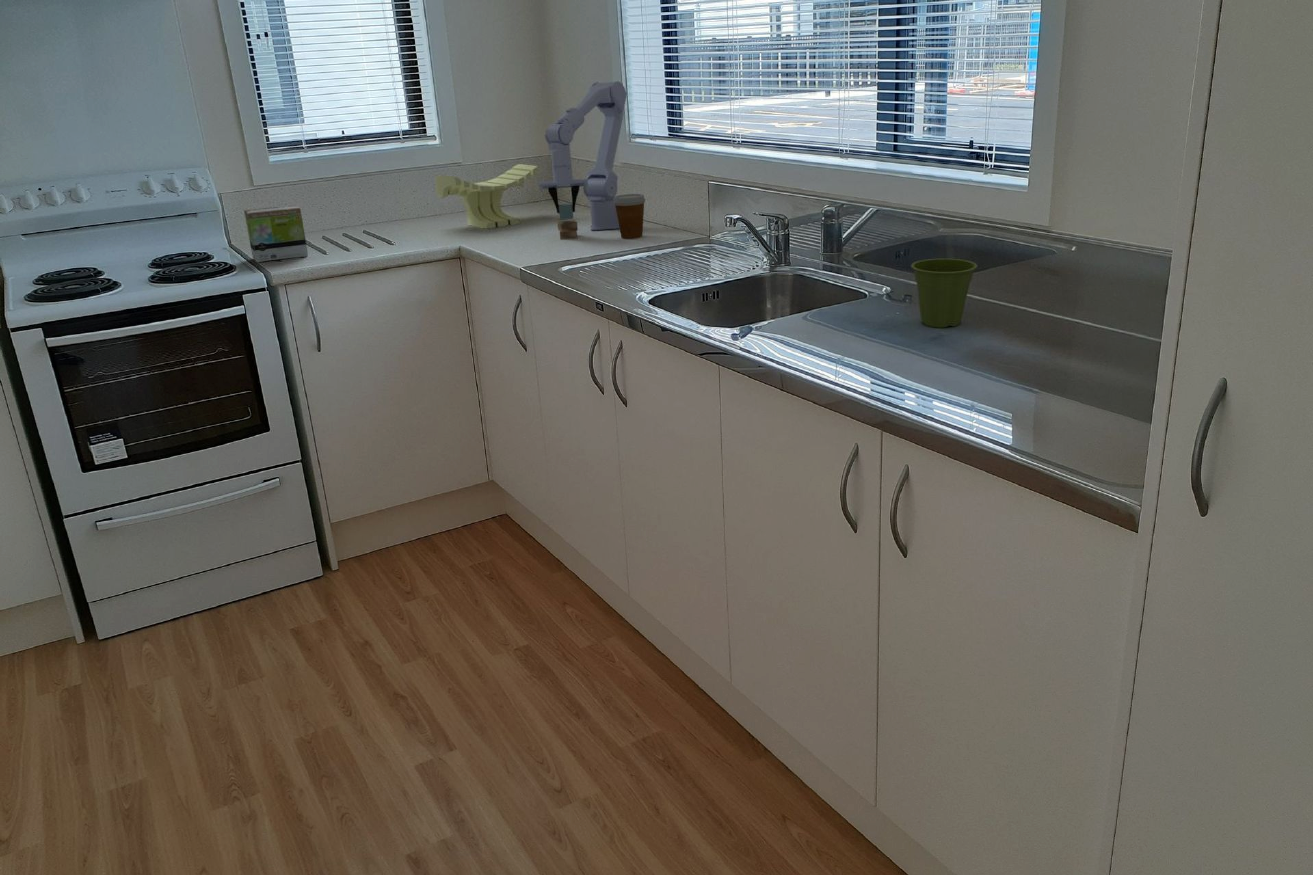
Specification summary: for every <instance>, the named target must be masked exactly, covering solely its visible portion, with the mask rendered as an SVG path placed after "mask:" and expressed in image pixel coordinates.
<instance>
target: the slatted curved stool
mask: <svg viewBox="0 0 1313 875" xmlns="http://www.w3.org/2000/svg"><path fill="white" fill-rule="evenodd" d="M538 169H539V166H537V165H532V164H531V165H530V164H522V163H519V164H516V165H514V166H512V168H510V169H508V170H506V171H505V172H504V173H502V174H500V175H498V176H497V177H493V179H492V178H491V179H489V180H485V181H481V182H473V183H471V182H468V181H466V180H461V179H460V178H458V177H456V176H454V175H453V176H452V175H447V174H446V175H445V174H444V175H443V174H437V175H436V177H435V189H436V195H437V197H438V198H442V199H444V198H447V197H449V196H455V195H456V196H458V197H460V198H461V201H462V203H463V205H464V208H465V211H466V219H467V225H468V226H469V225H471V226H470V227H474V226H475V227H474V228H478V227H479V228H478V229H483V228H485V229H484V230H488V229H487V228H490V229H494V228H501V227H500V226H502V227H506V226H505V225H508V226H509V225H510V226H513V224H514V225H518V224H517V223H520V224H521V222H520V220H519V218H517V217H514V216H510V215H508V214H507V213H505V212H504V211H503V210H502V209H501V201H502V197H503V195H504V194H503V192H505V191H507V190H509V189H510V188H514V187H515V188H516V187H524V183H525V180H529V179H532V176H537V175H538V176H539V170H538Z"/></svg>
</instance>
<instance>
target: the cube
mask: <svg viewBox="0 0 1313 875" xmlns="http://www.w3.org/2000/svg"><path fill="white" fill-rule="evenodd" d="M558 204H559V203H558ZM558 214H559V220H560V221H563V220H574V212H573V210H572V203H561V204H559V213H558Z"/></svg>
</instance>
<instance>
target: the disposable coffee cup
mask: <svg viewBox="0 0 1313 875" xmlns="http://www.w3.org/2000/svg"><path fill="white" fill-rule="evenodd" d="M613 203H614V205H615V208H616V212H617V218H618V223H619V228H618V229H619V232H620V236H621V237H620V238H621V239H624V240H634V239H639V238H642V237H643V228H644V211H645V203H646V199H645V195H644V194H642V193H627V194H620V195H615V197H614V201H613Z"/></svg>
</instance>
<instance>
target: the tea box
mask: <svg viewBox="0 0 1313 875" xmlns="http://www.w3.org/2000/svg"><path fill="white" fill-rule="evenodd" d="M302 216H303V215H302V211H301V208H300V207H299V206H297V205H296V204H292V205H291V204H290V205H279V206H278V205H277V206H269V207H261V208H250V209H244V218H245V222H246V224H245V225H246V229H247V234H248V240H249V244H250V245H249V246H250V251H251V255H252V258H253V260H254V261H255V262H256V263H263V262H268V261H276V260H285V259H286V260H287V259H295V258H304V257H305V258H306V257H308V255H309V254H308V246H307V245H308V244H307V240H306V235H305V234H306V233H305V228H304V223H303V217H302Z"/></svg>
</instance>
